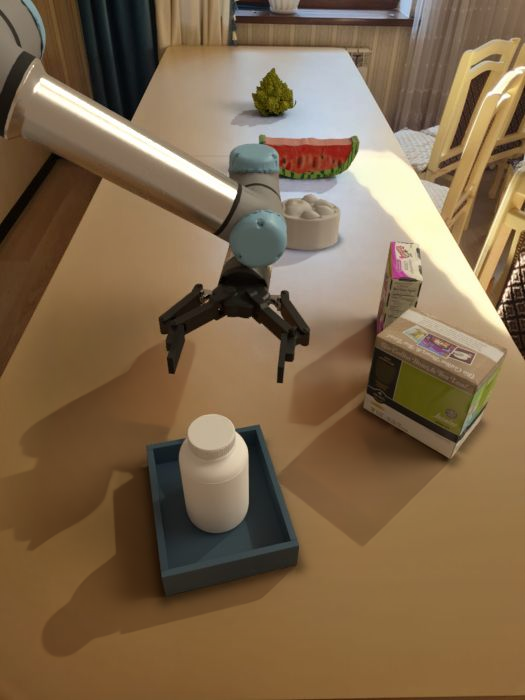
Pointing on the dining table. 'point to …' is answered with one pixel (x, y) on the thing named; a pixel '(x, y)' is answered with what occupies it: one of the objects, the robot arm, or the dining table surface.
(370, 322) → the dining table surface
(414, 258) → the candy bar box
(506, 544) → the dining table surface
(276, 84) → the vegetable
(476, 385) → the tea box
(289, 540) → the tray
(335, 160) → the fruit slice
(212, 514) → the pill bottle
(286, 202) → the lumpy-topped squat cylinder
